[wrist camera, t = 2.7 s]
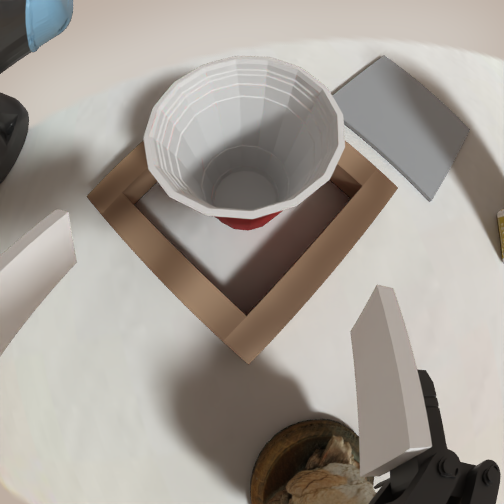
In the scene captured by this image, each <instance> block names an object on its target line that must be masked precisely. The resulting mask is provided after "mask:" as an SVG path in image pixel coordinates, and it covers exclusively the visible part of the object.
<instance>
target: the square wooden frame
mask: <svg viewBox="0 0 504 504" xmlns="http://www.w3.org/2000/svg"><path fill="white" fill-rule="evenodd" d="M330 180H331V181H332V182H333V183H334V184H335V185H336V186H337V187H339V188H340V189H341V190H342V191H343V192H344V193H345V194H346V195H348V196H349V197H350V198H351V199H350V200H349V202H348V203H347V204H346V205H345V206H344V207H343V209H342V210H341V211H340V212H339V213H338V214H337V216H336V217H335V218H334V219H333V220H332V221H331V223H330V224H329V225H328V226H327V227H326V228H325V229H324V231H323V232H322V233H321V234H320V235H319V236H318V237H317V239H316V240H315V241H314V242H313V243H312V244H311V245H310V246H309V248H308V249H307V250H306V251H305V252H304V253H303V254H302V255H301V257H300V258H299V259H298V260H297V261H296V262H295V263H294V264H293V265H292V267H291V268H290V269H289V270H288V271H287V272H286V273H285V274H284V275H283V276H282V278H281V279H280V280H279V281H278V282H277V283H276V284H275V285H274V286H273V287H272V289H271V290H270V291H269V292H268V293H267V294H266V295H265V296H264V297H263V298H262V299H261V300H260V301H259V303H258V304H257V305H256V306H255V307H254V308H253V309H252V310H251V311H250V312H249V313H248V314H247V315H245V314H244V313H243V312H242V311H241V310H240V309H239V308H238V307H237V306H236V305H235V304H233V303H232V302H231V301H230V300H229V299H228V298H227V297H226V296H225V295H224V294H223V293H222V292H221V291H220V290H219V289H218V288H217V287H215V286H214V285H213V284H212V283H211V282H210V281H209V280H208V279H207V278H206V277H205V276H204V275H203V274H202V273H201V272H200V271H199V270H198V269H197V268H196V267H195V266H194V265H193V264H192V263H191V262H190V261H189V260H188V259H187V258H186V257H185V256H184V255H183V254H182V253H181V252H180V251H179V250H178V249H177V248H176V247H175V246H174V245H173V244H172V243H171V242H170V241H169V240H168V239H167V238H166V237H165V236H164V235H163V234H162V233H161V232H160V231H159V230H158V229H157V228H156V227H155V226H154V225H153V224H152V223H151V222H150V221H149V220H148V219H147V218H146V217H145V216H144V215H143V214H142V213H141V212H140V211H139V210H138V209H137V207H136V206H135V205H134V204H135V203H136V202H137V201H138V200H139V199H140V198H141V197H142V196H143V195H144V194H145V193H146V192H147V191H148V190H149V189H150V188H151V187H152V186H153V185H154V184H155V183H156V182H158V181H157V180H156V179H155V177H154V176H153V175H152V173H151V172H150V171H149V169H148V164H147V158H146V151H145V145H144V140H143V141H142V142H141V143H140V144H139V145H138V146H137V147H136V148H135V149H133V150H132V151H131V152H130V153H129V154H128V155H127V156H126V157H125V158H124V159H123V160H122V161H121V162H120V163H119V164H118V165H117V166H116V167H115V168H114V169H113V170H112V171H111V172H110V173H109V174H108V175H107V176H106V177H105V178H104V179H103V180H102V181H101V182H100V183H99V184H98V185H97V186H96V187H95V188H94V189H93V190H92V191H91V192H90V193H89V194H88V195H87V198H88V199H89V200H90V201H91V203H92V204H93V205H94V206H95V208H96V209H97V210H98V211H99V212H100V214H101V215H102V216H103V217H104V218H105V219H106V221H107V222H108V223H109V224H110V225H111V226H112V228H113V229H114V230H115V231H116V232H117V233H118V235H119V236H120V237H121V238H122V239H123V240H124V241H125V242H126V244H127V245H128V246H129V247H130V248H131V249H132V250H133V251H134V252H135V254H136V255H137V256H138V257H139V258H140V259H141V260H142V261H143V262H144V263H145V264H146V266H147V267H148V268H149V269H150V270H151V271H152V272H153V273H154V274H155V275H156V276H157V277H158V278H159V279H160V280H161V281H162V282H163V283H164V285H165V286H166V287H167V288H168V289H169V290H170V291H171V292H172V293H173V294H174V295H175V296H176V297H177V298H178V299H179V300H180V301H181V302H182V303H183V304H184V305H185V306H186V307H187V308H188V309H189V310H190V311H191V312H192V313H193V314H194V315H195V316H196V317H197V318H198V319H199V320H201V321H202V322H203V323H204V324H205V325H206V326H207V327H208V328H209V329H210V330H211V331H212V332H213V333H214V334H215V335H216V336H217V337H218V338H220V339H221V340H222V341H223V342H224V343H225V344H226V345H227V346H228V347H229V348H230V349H232V350H233V351H234V352H235V353H236V354H237V355H238V356H239V357H240V358H242V359H243V360H244V361H245V362H246V363H247V364H248V365H249V364H250V363H251V362H252V361H253V360H254V359H255V358H256V357H257V356H258V354H259V353H260V352H261V351H262V350H263V349H264V348H265V347H266V346H267V345H268V344H269V343H270V342H271V341H272V340H273V339H274V338H275V337H276V335H277V334H278V333H279V332H280V331H281V330H282V329H283V328H284V327H285V326H286V325H287V323H288V322H289V321H290V320H291V319H292V318H293V317H294V316H295V315H296V313H297V312H298V311H299V310H300V309H301V308H302V307H303V306H304V304H305V303H306V302H307V301H308V300H309V299H310V298H311V297H312V295H313V294H314V293H315V292H316V291H317V290H318V288H319V287H320V286H321V285H322V284H323V283H324V281H325V280H326V279H327V278H328V277H329V275H330V274H331V273H332V272H333V271H334V270H335V268H336V267H337V266H338V265H339V263H340V262H341V261H342V260H343V259H344V257H345V256H346V255H347V254H348V252H349V251H350V250H351V249H352V248H353V246H354V245H355V244H356V243H357V241H358V240H359V239H360V237H361V236H362V235H363V234H364V232H365V231H366V230H367V229H368V227H369V226H370V225H371V223H372V222H373V221H374V219H375V218H376V217H377V216H378V214H379V213H380V212H381V210H382V209H383V208H384V206H385V205H386V204H387V202H388V201H389V200H390V198H391V197H392V196H393V194H394V193H395V191H396V190H397V189H398V187H397V186H396V185H395V184H394V183H393V182H391V181H390V180H389V179H388V178H387V177H386V176H385V175H384V174H383V173H382V172H381V171H380V170H379V169H377V168H376V167H375V166H374V165H373V164H372V163H371V162H370V161H368V160H367V159H366V158H365V157H364V156H363V155H362V154H360V153H359V152H358V151H357V150H356V149H355V148H353V147H352V146H351V145H350V144H349V143H347V142H346V141H345V148H344V150H343V153H342V155H341V157H340V159H339V161H338V163H337V165H336V167H335V170H334V172H333V174H332V176H331V178H330Z"/></svg>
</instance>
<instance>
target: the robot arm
mask: <svg viewBox="0 0 504 504" xmlns="http://www.w3.org/2000/svg"><path fill="white" fill-rule="evenodd" d="M72 13H73V0H0V74H1V73H2V72H3V71H5V70H6V69H7V68H9V67H10V66H12V65H13V64H14V63H16V62H17V61H19V60H20V59H22V58H23V57H25V56H26V55H28V54H29V53H31V52H35V51H37V49H38V48H39V47H40V46H41V45H43V44H44V43H46V42H48V41H49V40H51V39H52V38H54V37H56V36H57V35H59V34H60V33H61V32H63V31H64V30H65V29H66V28H67V26H68V25H69V23H70V21H71V18H72ZM28 125H29V117H28V112H27V110H26V109H25V108H24V107H23V105H22V104H21V103H20V102H19V101H18V100H16V99H15V98H13V97H10V96H8V95H5V94H3V93H0V183H1V182H2V181H3V179H4V178H5V177H6V175H7V174H8V172H9V171H10V169H11V168H12V166H13V164H14V162H15V161H16V159H17V157H18V155H19V153H20V151H21V148H22V146H23V144H24V141H25V138H26V135H27V131H28ZM76 263H77V260H76V255H75V250H74V244H73V238H72V232H71V225H70V218H69V212H67V211H63V210H59V209H56V210H55V211H53V212H52V213H51V214H50V215H48V216H47V217H46V218H44V219H43V220H42V221H41V222H39V223H38V224H37V225H35V226H34V227H33V228H32V229H31V230H29V231H28V232H27V233H26V234H24V235H23V236H22V237H21V238H20V239H19V240H17V241H16V242H15V243H14V244H13V245H12V246H10V247H9V248H8V249H7V250H6V251H5V252H4V253H3V254H2V255H0V356H1V354H2V353H3V352H4V350H5V349H6V347H7V346H8V345H9V343H10V342H11V341H12V339H13V338H14V337H15V335H16V334H17V333H18V331H19V330H20V329H21V327H22V326H23V325H24V323H25V322H26V321H27V320H28V318H29V317H30V316H31V315H32V313H33V312H34V311H35V310H36V308H37V307H38V306H39V305H40V304H41V302H42V301H43V300H44V299H45V298H46V296H47V295H48V294H49V293H50V292H51V291H52V289H53V288H54V287H55V286H56V285H57V284H58V283H59V281H60V280H61V279H62V278H63V277H64V276H65V275H66V274H67V273H68V271H69V270H70V269H71V268H72V267H73V266H74V265H75V264H76ZM351 340H352V349H353V358H354V368H355V379H356V391H357V405H358V422H359V448H360V477H370V476H381V475H383V474H385V473H387V472H389V471H390V478H389V479H387V480H384V481H382V482H380V483H378V484H377V485H376V486H374V488H375V489H377V488H379V487H381V486H382V487H381V488H380V490H379V491H378V492H377V494H376V495H375V496H374V497H373V499H372V500H371V501H370V502H369V503H368V504H496V499H497V495H498V490H499V484H500V470H499V467H498V465H497V464H496V463H495V462H494V461H492V460H486V461H484V462H482V463H480V464H479V465H477V466H476V465H471V464H467V463H463V462H460V460H459V457H458V456H457V455H456V454H455V453H454V452H453V451H451V450H449V449H447V445H446V441H445V435H444V430H443V424H442V419H441V414H440V410H439V408H438V406H439V405H438V401H437V398H436V392H435V388H434V384H433V381H432V380H431V378H430V377H429V375H428V373H427V372H426V370H417V367H416V363H415V359H414V355H413V351H412V348H411V344H410V340H409V337H408V333H407V330H406V327H405V323H404V320H403V317H402V313H401V310H400V307H399V304H398V301H397V298H396V295H395V292H394V289H393V288H389V287H385V286H380V285H377V286H376V287H375V289H374V291H373V293H372V295H371V297H370V299H369V300H368V302H367V304H366V306H365V308H364V309H363V311H362V313H361V315H360V316H359V318H358V320H357V321H356V323H355V325H354V327H353V328H352V330H351Z"/></svg>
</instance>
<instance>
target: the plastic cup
mask: <svg viewBox="0 0 504 504" xmlns="http://www.w3.org/2000/svg"><path fill="white" fill-rule="evenodd" d="M143 138H144V145H145V151H146V158H147V164H148V169H149V171H150V172H151V173H152V175H153V176H154V177H155V179H156V180H157V181H158V183H159V184H160V185H161V186H162V188H163V189H164V190H165V192H166V193H167V194H168V196H169V197H170V198H172V199H174V200H176V201H178V202H180V203H182V204H184V205H186V206H188V207H190V208H192V209H194V210H196V211H198V212H200V213H202V214H204V215H206V216H214V217H216V218H218V219H219V220H220V221H221V222H222V223H224V224H226V225H228V226H230V227H232V228H233V229H240V230H252V229H255V228H259V227H262V226H264V225H265V224H266V223H267V222H269V221H270V220H272V219H273V218H274V217H275V216H277V215H278V214H279V213H281V212H282V211H283V210H286V209H289V208H292V207H296V206H297V205H299V204H300V203H301V202H302V201H304V200H305V199H306V198H307V197H309V196H310V195H311V194H312V193H314V192H315V191H316V190H317V189H319V188H320V187H321V186H322V185H324V184H325V183H326V182H327V181H329V180H330V178H331V176H332V174H333V172H334V170H335V167H336V165H337V163H338V161H339V159H340V157H341V155H342V153H343V150H344V148H345V135H344V118H343V113H342V112H341V110H340V108H339V106H338V105H337V103H336V101H335V99H334V98H333V96H332V94H331V93H330V91H329V89H328V87H326V86H325V85H324V84H323V83H321V82H320V81H319V80H317V79H316V78H315V77H314V76H312V75H311V74H310V73H308V72H307V71H306V70H304V69H303V68H301V67H299V66H296V65H293V64H290V63H287V62H284V61H281V60H278V59H275V58H271V57H259V56H234V57H230V58H226V59H222V60H218V61H214V62H211V63H207V64H204V65H201V66H199V67H198V68H196V69H194V70H193V71H191V72H189V73H188V74H186V75H185V76H183V77H181V78H180V79H178V80H177V81H175V82H174V83H173V84H172V85H171V86H170V87H169V88H168V90H167V91H166V92H165V93H164V94H163V96H162V97H161V98H160V99H159V101H158V102H157V103H156V104H155V106H154V107H153V109H152V112H151V115H150V118H149V121H148V124H147V127H146V131H145V134H144V137H143Z"/></svg>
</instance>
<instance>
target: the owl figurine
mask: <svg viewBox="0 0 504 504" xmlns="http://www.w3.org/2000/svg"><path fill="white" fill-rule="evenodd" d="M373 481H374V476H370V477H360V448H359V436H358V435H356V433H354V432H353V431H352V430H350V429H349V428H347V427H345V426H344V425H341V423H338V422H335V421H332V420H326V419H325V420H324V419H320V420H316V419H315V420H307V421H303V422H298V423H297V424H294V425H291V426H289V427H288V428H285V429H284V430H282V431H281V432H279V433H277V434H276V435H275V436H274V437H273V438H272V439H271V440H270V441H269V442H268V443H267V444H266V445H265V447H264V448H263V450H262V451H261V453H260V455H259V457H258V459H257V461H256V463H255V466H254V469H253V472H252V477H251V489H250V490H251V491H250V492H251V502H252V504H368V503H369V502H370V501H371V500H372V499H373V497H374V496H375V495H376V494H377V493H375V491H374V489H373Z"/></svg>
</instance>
